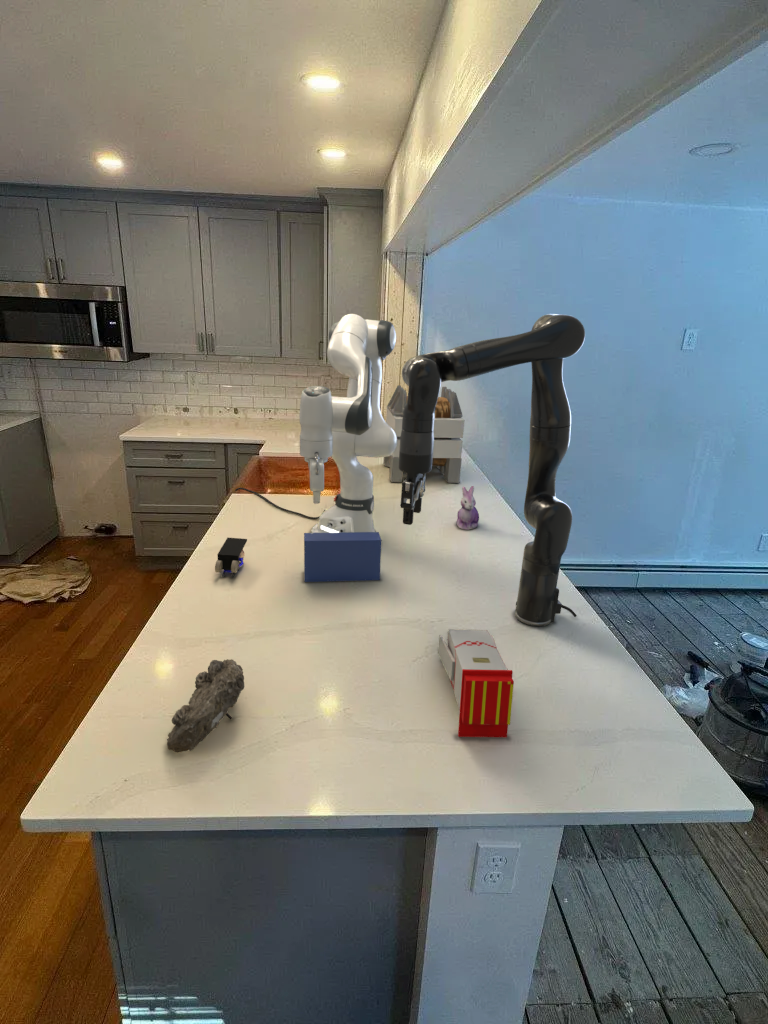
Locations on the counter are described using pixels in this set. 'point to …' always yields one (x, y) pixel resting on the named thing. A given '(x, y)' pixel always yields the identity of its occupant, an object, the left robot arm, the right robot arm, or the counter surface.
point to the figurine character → (230, 556)
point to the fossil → (206, 705)
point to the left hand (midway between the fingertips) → (316, 497)
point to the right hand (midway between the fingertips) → (412, 517)
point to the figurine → (468, 510)
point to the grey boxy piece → (445, 434)
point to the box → (342, 556)
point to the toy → (478, 682)
